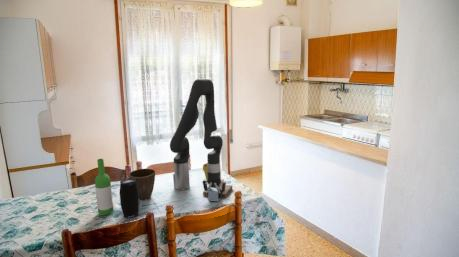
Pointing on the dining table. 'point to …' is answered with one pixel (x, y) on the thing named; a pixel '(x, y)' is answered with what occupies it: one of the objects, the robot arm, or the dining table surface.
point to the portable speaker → (129, 197)
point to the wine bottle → (103, 190)
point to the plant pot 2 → (205, 170)
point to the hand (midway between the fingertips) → (214, 197)
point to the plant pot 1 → (144, 182)
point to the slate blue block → (213, 194)
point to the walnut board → (225, 193)
